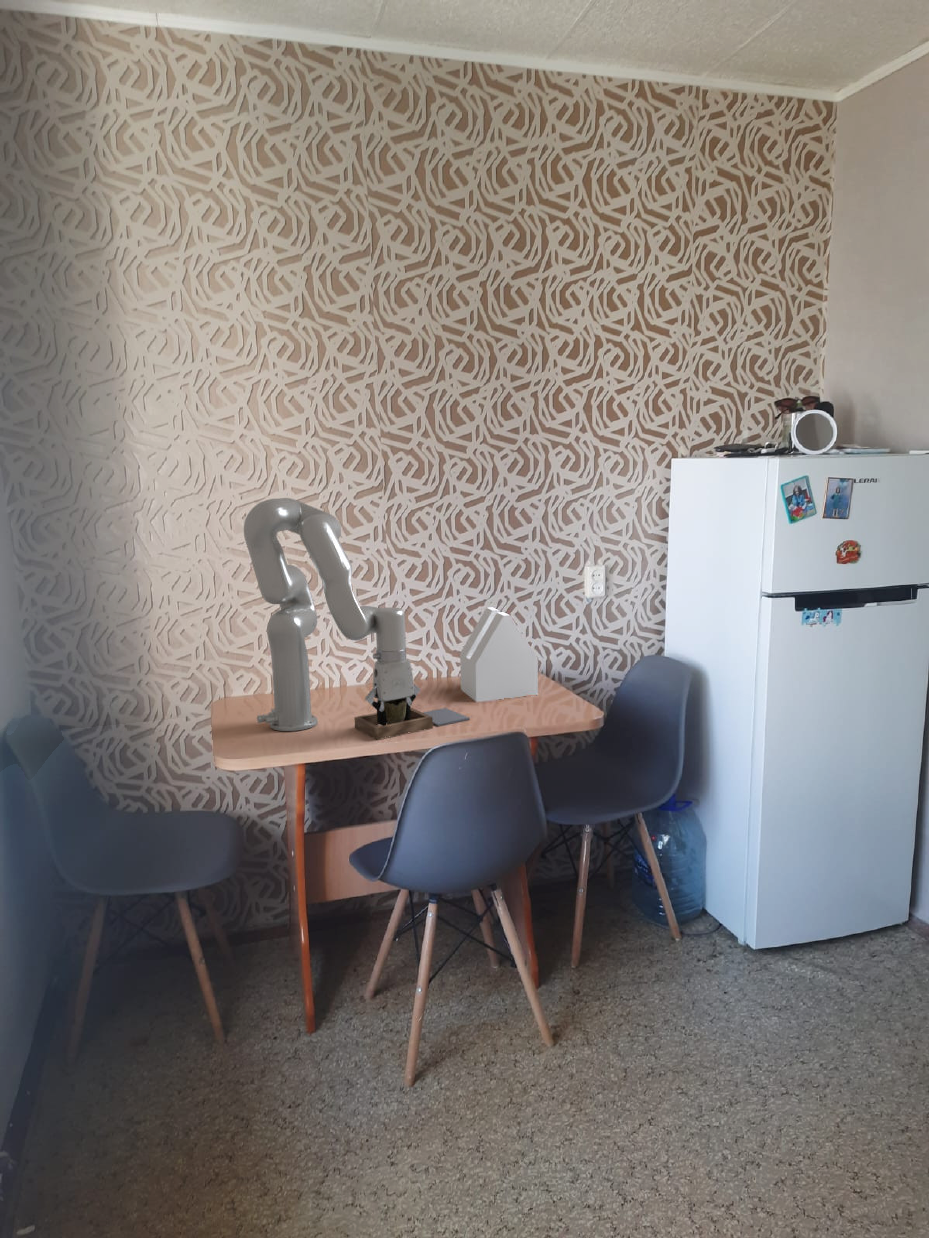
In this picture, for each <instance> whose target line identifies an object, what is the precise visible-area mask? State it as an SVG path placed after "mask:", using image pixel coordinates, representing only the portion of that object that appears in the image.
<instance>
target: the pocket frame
mask: <svg viewBox="0 0 929 1238" xmlns="http://www.w3.org/2000/svg"><path fill="white" fill-rule="evenodd" d="M410 710H411V716H410V720H408V721H407V720H403V721H402V722H399V723H394V724H389V725H387V724H386V725H384V726H382V725H378V724H379V723H378V721H377V712H374V713H370V714H369V713H368V714H365V715H364V714H363V715H359V716H355V717H354V728H355V730H357V729H358V731H359V730H360V731H359V732H361V731H362V732H361V733H363V732H364V734H365V733H366V734H365V735H367V734H368V735H367V736H369V737H371V736H372V737H374V738H375V739H374V738H373V739H374V740H376V739H380V740H382V739H381V738H385V737H389V736H394V737H397V736H396V735H399V736H401V735H400V734H403V735H405V734H404V733H408V732H412V733H416V731H417V732H420V731H419V730H422V731H425V730H424V729H426V730H430V729H433V728H434V727H433V718H432V717H431V716H429V715H427V714H424V713H422V711H419V710H417V709H415V708H413V707H412V706H410ZM408 734H409V733H408ZM372 737H371V738H372ZM389 738H390V737H389ZM385 739H386V738H385Z"/></svg>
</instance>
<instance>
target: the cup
mask: <svg viewBox="0 0 929 1238" xmlns="http://www.w3.org/2000/svg"><path fill="white" fill-rule="evenodd" d="M380 704H381V703H380V701H379V705H380ZM406 704H407V698H406V700H405V698H403V699H398V700H393V701H387V702H386V704H384V710H383V711H385V713H386V725H389V724H394V723H399V722H404V721H405V720H404V718H405V714H406Z"/></svg>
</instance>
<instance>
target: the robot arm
mask: <svg viewBox="0 0 929 1238" xmlns="http://www.w3.org/2000/svg"><path fill="white" fill-rule="evenodd" d="M285 531H287V532H288V531H289V532H291V533H294V534H296V535H299V537H300V541H302V543H303V546H304V548H305V549H306V551H307V553H308V556H309V557H310V559H311V561H312V563H313V564H314V566H315V568H316V569H315V570H316V571H317V573H318V575H319V577H320V579H321V581H322V589H323V592H324V597H325V601H326V603H327V607H328V610H329V612H330V615H331V617H332V618H333V621H334V622H335V624H336V626H337V628H338V630H339V631H340V633H341V634H342V635H343V637H345V638H346V639H348V640H350V641H355V642H356V641H357V642H358V641H361V640H363V639H364V638H366V637H367V636H370V635H373V634H375V636H376V638H375V639H376V650H375V651H376V652H375V653H373V654H372V658H373V660H376V661H374V667H373V678H372V689H371V690H370V691H369V693H367V695H366V696H365V701H366V702H367V703H369V704H370V706H372V707H373V708H374V709H375V710H376V713H377V721H378V723H379V724H380V725H379V726H384V725H387V723H386V713H385V711H383V710H384V704H386V702H387V701H393V700H398V699H403V698H405V700H406V698H407V704H406V714H405V718H404V720H403V721H408V720H410V716H411V710H410V707H412V705H413V702H414V701H415V699H416V698H417V696H418V695H419V693H420V692H421V688H420V687H419V686H417V685H416V684H415V682H414V676H413V675H414V673H413V669H412V664H411V661H410V659H409V658H407V642H406V641H407V640H406V637H407V636H406V615H405V611H404V610H403V609H402V608H400V607H396V606H395V607H393V606H392V607H391V606H390V607H377V606H370V605H361V606H359V604H358V602H357V600H356V597H355V594H354V592H353V587H352V574H353V566H352V563H351V561H350V559H349V557H348V555H347V554H346V551H345V550H344V548H343V546H342V544H341V542H340V540H339V539H340V538H341V534H342V526H341V523H340V522H339V520H338V519H337V518H336V517H335V515H332V514H331V513H329V512H327V511H324V510H321V509H318V508H317V507H314V506H312V505H308V504H307V503H305V502H302V501H299V500H296V499H293V498H289V497H280V498H270V499H266V500H263V501H261V502H259V503H256V505H254V507H252V508H251V510H249V512H248V513H247V515H246V516H245V519H244V523H243V536H244V541H245V545H246V547H247V551H248V554H249V556H250V560H251V563H252V568H253V571H254V575H255V578H256V581H257V585H258V587H259V591H260V594H261V598H263V600H264V601H265V602H267V603H268V604H270V605H279V608H280V609H279V610H277V611H275V612H274V613H273V614H272V615H271V616H270V618H269V620H268V621H267V624H266V625H267V626H266V635H267V636H266V637H267V639H268V645H269V649H270V656H271V659H270V660H271V670H272V686H273V703H274V708H271V709H270V710H271V711H270V712H268V713H267V714H260V715H257V716H256V719H257V720H256V721H257V723H259V724H260V723H266V724H269V727H270V728H271V729H272V730H275V731H279V732H297V731H303V730H307V729H310V728H313V727H315V726H316V725H317V724H318V717H316V716H315V715H313V714H312V705H311V704H312V703H311V701H312V699H311V684H310V681H311V680H310V666H309V664H310V663H309V655H308V649H307V645H306V641H305V640H306V639H305V638H307V637H308V636H309V635H311V634H313V633H314V631H315V630H316V628H317V626H318V625H317V624H318V615H317V611H316V607H315V604H314V599H313V596H312V593H311V589H310V586H309V583H308V580H307V578H306V575H305V574H304V572H303V571H302V570H301V569H300V568H299V567H297V566H295V565H293V564H288V562H287V560H286V557H285V552H284V548H283V547H282V545H281V543H280V541H279V539H278V533H279V532H285ZM374 698H375V699H376V700H375V699H374ZM379 701H380V703H381V704H380V705H379Z"/></svg>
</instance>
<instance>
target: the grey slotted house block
mask: <svg viewBox="0 0 929 1238" xmlns="http://www.w3.org/2000/svg"><path fill="white" fill-rule="evenodd" d="M459 658H460V660H459V661H460V666H459V667H460V668H459V669H460V690H461V691H462V692H463V693H464V694H466V695H467V696H469V697H470V698H471V699H472V700H473V701H474V702H475V703H481V702H482V703H483V702H491V701H500V700H499V699H502V700H505V699H504V698H511V699H515V698H514V697H521V696H526V695H538V696H539V657H538V656H537V655H536V653H535V652H534V650H533V648H532V646H531V645H530V644H529V642H528V640H526V638H525V636H524V635H523V633H522V631H521V630H520V629H519V627H518V625H517V623H516V622H515V621H514V619H513V618H512V616H511V615H510V614H508V613H506V612H503V611H502V612H500V610H499V609H497V608H495V607H493V606H491V607H486V608H485V609H484V611H483V612H482V615H481V616H480V618H479V619H478V621H477V623H476V625H475V627H474V628H473V630H472V632H471V634H470V635H469V637H468V639H467V640H466V642H465V644H464V646H463V648H462V649H461V651H460V652H459ZM521 698H522V697H521Z"/></svg>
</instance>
